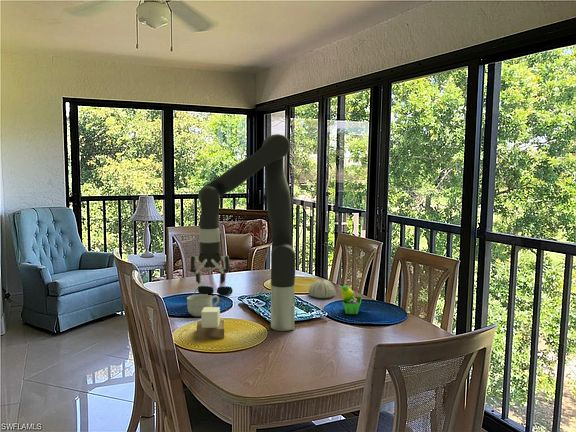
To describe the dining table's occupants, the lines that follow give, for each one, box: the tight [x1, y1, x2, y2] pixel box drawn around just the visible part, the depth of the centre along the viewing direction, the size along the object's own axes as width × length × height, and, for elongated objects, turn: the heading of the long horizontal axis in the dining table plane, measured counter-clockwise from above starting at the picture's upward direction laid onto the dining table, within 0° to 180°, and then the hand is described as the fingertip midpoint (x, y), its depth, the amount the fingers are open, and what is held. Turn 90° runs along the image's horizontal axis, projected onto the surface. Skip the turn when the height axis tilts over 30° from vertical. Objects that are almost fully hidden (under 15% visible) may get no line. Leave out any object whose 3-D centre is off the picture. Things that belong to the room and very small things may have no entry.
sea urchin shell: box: [308, 279, 337, 299], centre depth 231 cm, size 13×14×8 cm
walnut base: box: [196, 319, 225, 341], centre depth 178 cm, size 10×10×4 cm
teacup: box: [186, 293, 220, 317], centre depth 201 cm, size 14×11×8 cm
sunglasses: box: [192, 285, 233, 299], centre depth 225 cm, size 17×15×5 cm
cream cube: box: [200, 306, 221, 328], centre depth 177 cm, size 6×6×6 cm
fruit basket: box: [340, 285, 362, 315], centre depth 207 cm, size 11×9×11 cm
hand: (210, 283), depth 176 cm, fingers open, 8 cm apart
